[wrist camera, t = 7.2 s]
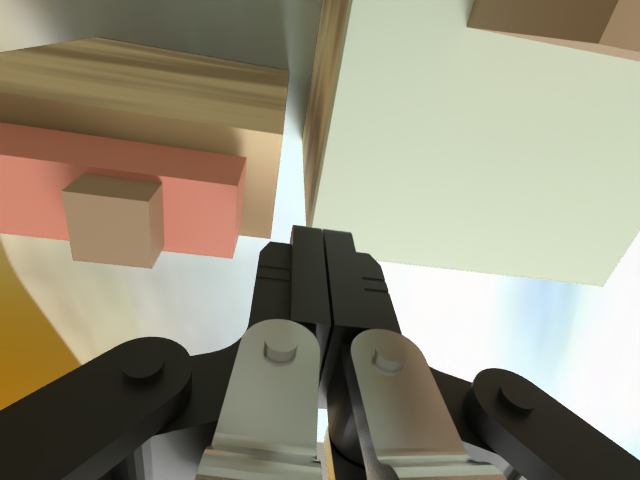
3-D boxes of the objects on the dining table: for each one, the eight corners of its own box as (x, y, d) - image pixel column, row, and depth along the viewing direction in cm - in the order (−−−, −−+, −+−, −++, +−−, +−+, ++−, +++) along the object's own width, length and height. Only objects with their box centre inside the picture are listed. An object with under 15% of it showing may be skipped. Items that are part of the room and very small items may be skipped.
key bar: (-174, 97, 11) (-348, 131, 8) (246, 157, 13) (231, 204, 10) (-140, 175, 13) (-281, 230, 10) (241, 221, 14) (226, 282, 11)
